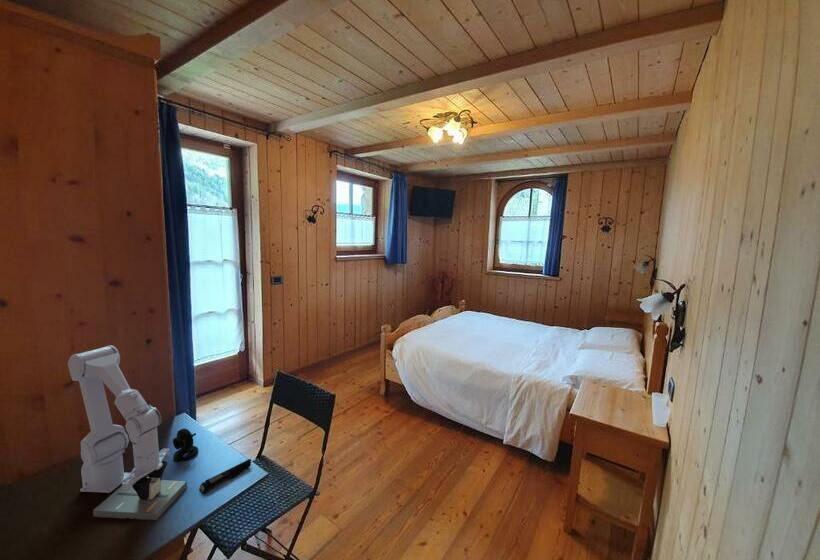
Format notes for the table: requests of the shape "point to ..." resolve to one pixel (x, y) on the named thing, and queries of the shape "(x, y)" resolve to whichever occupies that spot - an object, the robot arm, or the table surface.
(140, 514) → the console
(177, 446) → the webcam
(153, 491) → the fader
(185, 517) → the table surface
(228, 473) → the electric trimmer
